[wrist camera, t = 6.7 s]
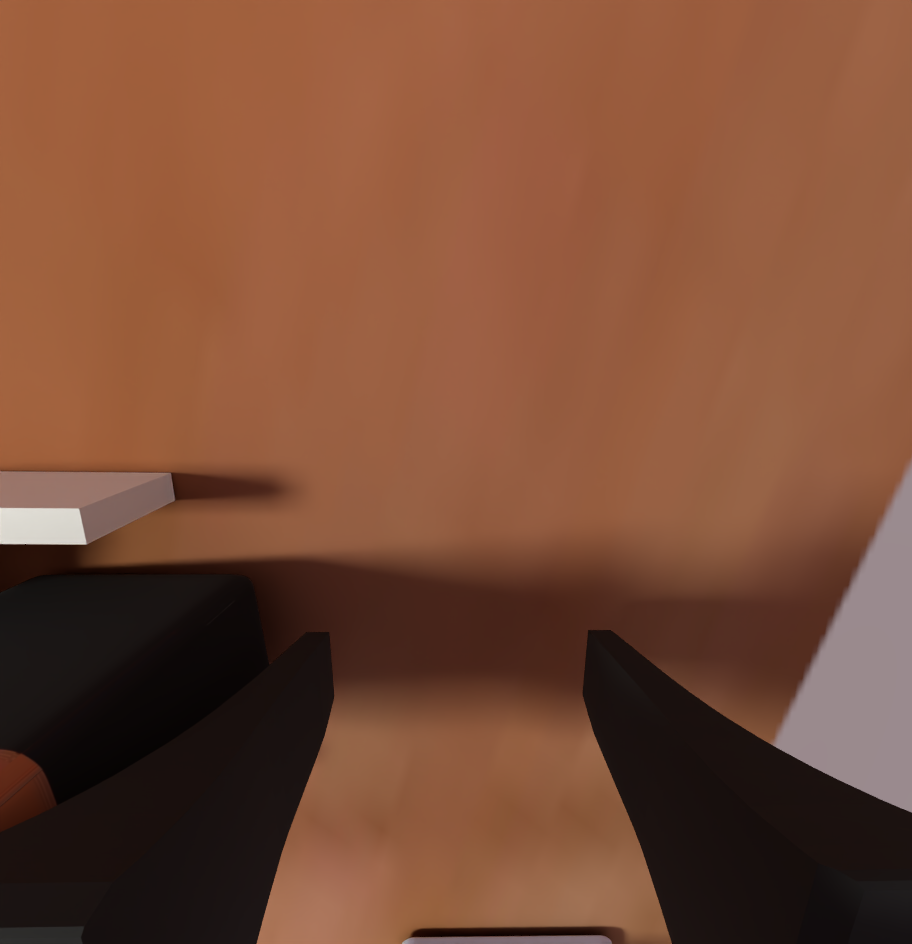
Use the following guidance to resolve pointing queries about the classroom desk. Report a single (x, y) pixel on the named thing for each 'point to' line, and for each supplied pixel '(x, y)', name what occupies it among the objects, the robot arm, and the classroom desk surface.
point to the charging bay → (76, 504)
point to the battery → (112, 674)
